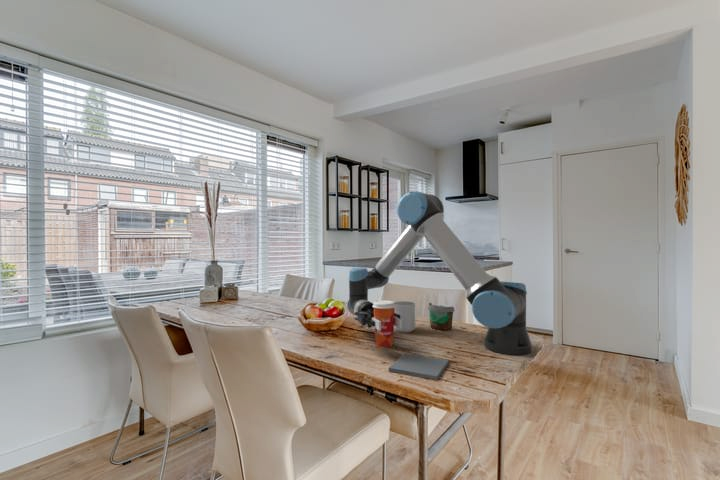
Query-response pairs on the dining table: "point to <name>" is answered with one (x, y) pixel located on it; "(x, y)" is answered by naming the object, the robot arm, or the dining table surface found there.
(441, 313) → the food container
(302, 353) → the dining table surface
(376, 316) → the paper cup
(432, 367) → the pad
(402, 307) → the mug
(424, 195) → the robot arm
